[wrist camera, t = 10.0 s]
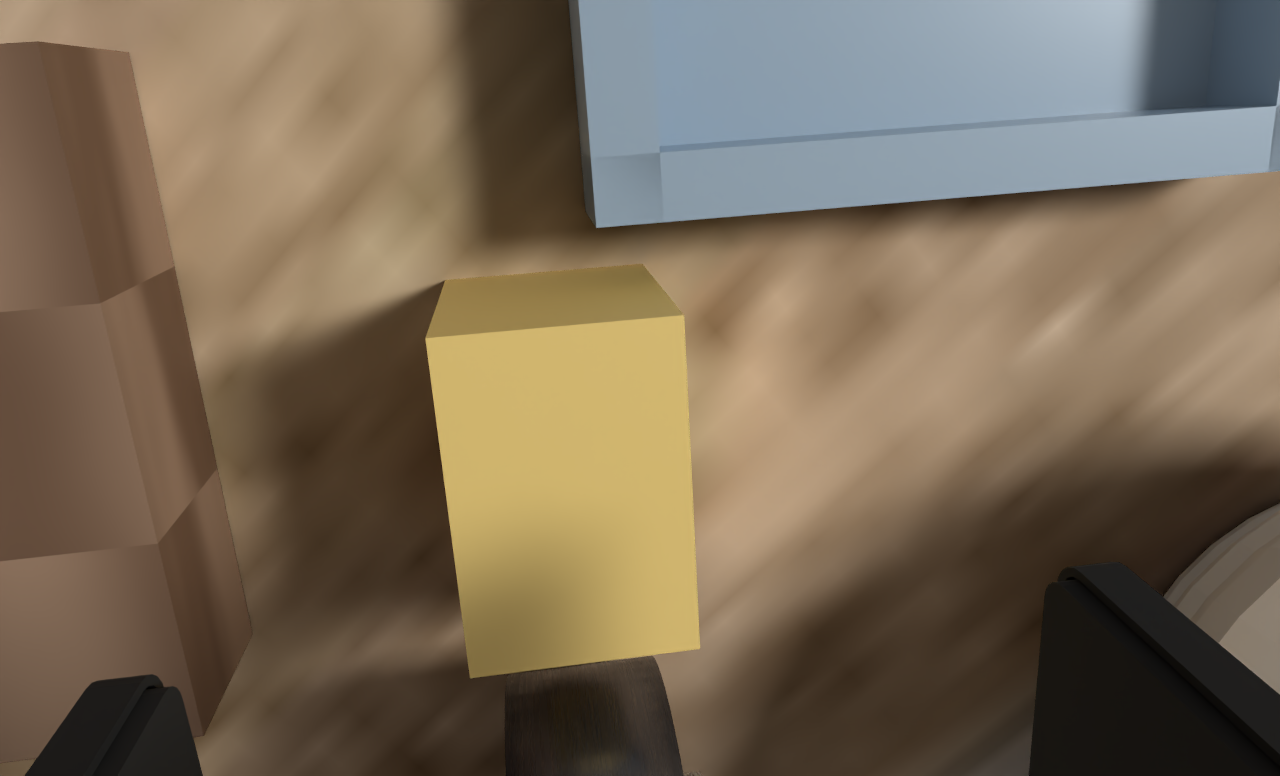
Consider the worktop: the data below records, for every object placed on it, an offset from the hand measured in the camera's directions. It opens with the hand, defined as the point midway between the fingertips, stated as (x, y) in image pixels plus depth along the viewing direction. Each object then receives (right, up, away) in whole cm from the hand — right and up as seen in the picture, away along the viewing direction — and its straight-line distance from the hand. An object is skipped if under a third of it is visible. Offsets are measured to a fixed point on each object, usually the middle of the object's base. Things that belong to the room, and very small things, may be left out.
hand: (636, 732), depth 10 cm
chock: (-2, +3, +10) cm, 11 cm away
